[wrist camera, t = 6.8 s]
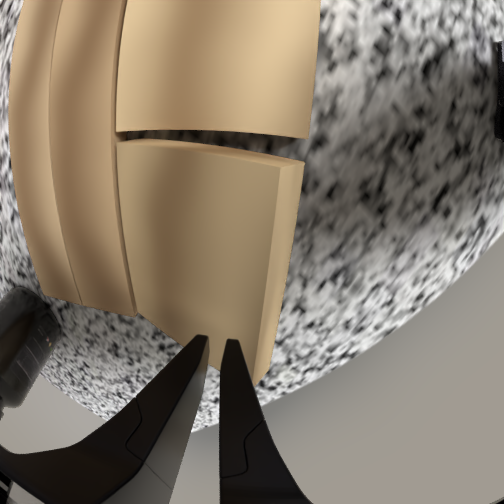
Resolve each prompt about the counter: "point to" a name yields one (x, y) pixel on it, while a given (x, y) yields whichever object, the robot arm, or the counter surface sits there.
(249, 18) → the oak plank
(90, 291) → the laid floor row
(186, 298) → the oak plank
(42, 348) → the supplement bottle
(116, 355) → the counter surface
